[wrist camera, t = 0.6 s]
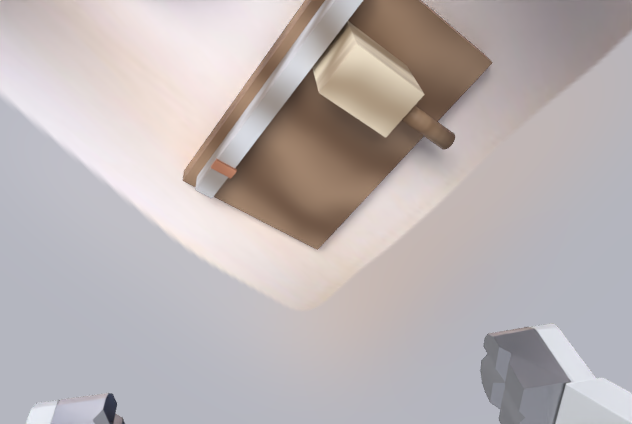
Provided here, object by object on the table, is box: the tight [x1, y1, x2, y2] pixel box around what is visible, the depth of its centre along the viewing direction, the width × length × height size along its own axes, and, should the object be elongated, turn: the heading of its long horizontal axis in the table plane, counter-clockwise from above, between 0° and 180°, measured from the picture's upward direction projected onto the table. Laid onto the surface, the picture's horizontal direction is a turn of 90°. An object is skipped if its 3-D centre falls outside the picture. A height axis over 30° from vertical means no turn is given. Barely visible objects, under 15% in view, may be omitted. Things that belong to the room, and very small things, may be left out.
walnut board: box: [183, 0, 492, 250], centre depth 43 cm, size 22×14×4 cm, turn 143°
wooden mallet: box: [312, 21, 455, 149], centre depth 40 cm, size 4×11×5 cm, turn 53°
